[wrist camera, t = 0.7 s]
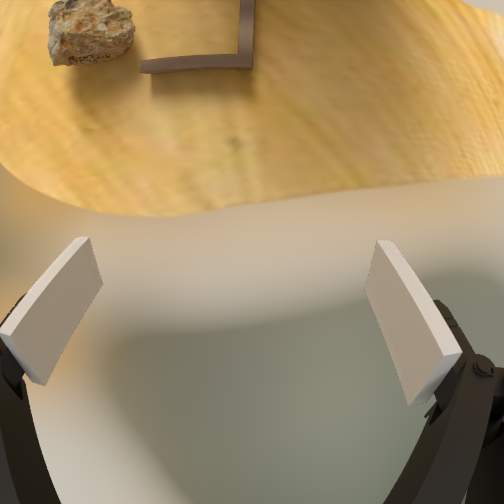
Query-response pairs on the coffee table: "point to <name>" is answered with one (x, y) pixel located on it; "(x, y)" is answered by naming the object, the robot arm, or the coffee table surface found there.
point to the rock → (88, 31)
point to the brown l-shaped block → (213, 61)
